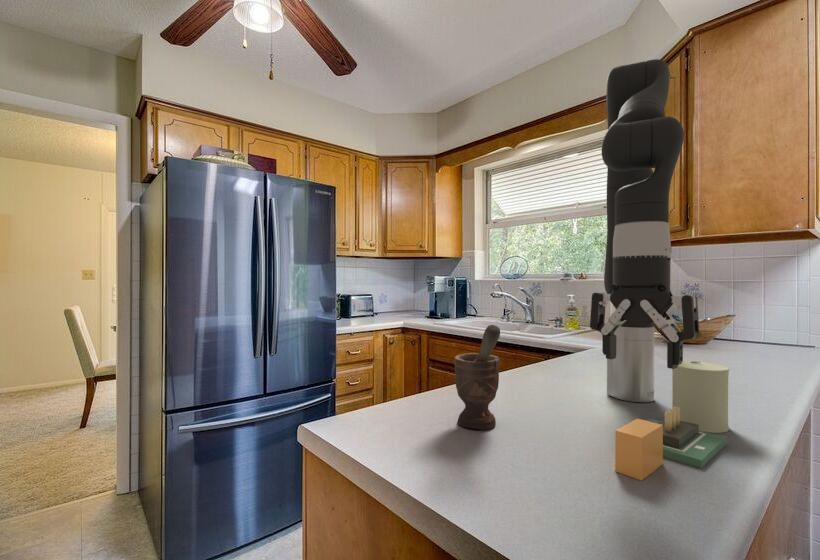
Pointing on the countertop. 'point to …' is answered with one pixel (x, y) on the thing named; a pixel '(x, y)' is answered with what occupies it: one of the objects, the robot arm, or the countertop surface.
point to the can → (702, 395)
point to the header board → (696, 453)
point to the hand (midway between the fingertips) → (640, 363)
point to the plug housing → (638, 448)
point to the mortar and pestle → (478, 382)
